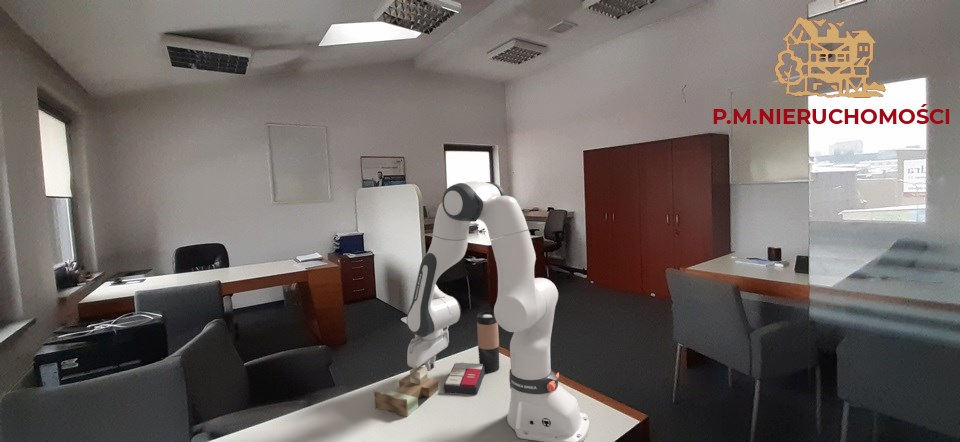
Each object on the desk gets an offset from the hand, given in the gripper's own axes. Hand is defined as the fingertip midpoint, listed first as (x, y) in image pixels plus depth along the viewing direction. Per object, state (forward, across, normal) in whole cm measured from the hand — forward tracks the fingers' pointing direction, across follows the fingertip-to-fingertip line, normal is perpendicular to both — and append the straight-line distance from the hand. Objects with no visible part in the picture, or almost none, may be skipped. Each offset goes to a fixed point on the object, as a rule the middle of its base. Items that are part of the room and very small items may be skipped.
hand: (430, 369), depth 135 cm
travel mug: (+4, +16, -15) cm, 22 cm away
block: (+1, -6, 0) cm, 6 cm away
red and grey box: (+5, +4, -12) cm, 13 cm away
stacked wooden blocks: (+4, -12, 0) cm, 13 cm away
